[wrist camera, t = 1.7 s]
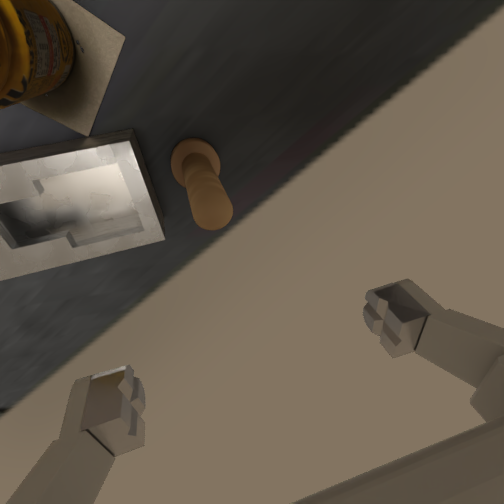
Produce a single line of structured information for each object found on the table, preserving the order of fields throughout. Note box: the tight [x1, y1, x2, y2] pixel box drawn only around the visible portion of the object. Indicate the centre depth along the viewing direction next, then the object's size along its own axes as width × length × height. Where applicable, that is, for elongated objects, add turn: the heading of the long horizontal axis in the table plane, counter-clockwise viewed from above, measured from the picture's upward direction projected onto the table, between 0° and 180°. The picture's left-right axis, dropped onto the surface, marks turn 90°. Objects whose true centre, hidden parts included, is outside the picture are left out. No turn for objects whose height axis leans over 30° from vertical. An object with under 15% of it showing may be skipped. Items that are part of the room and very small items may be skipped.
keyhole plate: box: [0, 128, 165, 281], centre depth 22 cm, size 14×8×4 cm, turn 97°
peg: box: [171, 138, 233, 230], centre depth 21 cm, size 4×4×10 cm
